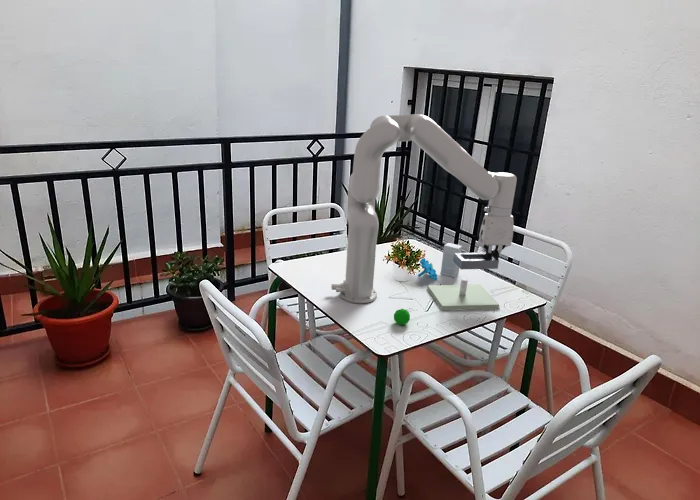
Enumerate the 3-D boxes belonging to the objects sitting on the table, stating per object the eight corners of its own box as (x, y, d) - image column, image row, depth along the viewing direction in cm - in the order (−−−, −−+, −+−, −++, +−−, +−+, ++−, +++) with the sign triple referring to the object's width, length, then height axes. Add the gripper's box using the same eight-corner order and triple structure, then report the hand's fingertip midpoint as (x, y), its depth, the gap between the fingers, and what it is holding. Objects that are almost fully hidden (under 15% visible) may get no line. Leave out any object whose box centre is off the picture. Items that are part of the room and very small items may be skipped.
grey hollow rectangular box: (460, 269, 163) (462, 261, 162) (453, 261, 170) (454, 252, 169) (497, 268, 165) (499, 260, 164) (488, 260, 172) (489, 252, 171)
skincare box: (458, 274, 192) (462, 245, 187) (454, 278, 188) (458, 248, 184) (444, 270, 195) (447, 242, 190) (440, 274, 191) (443, 245, 187)
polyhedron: (408, 320, 155) (409, 306, 153) (410, 327, 150) (411, 314, 149) (392, 319, 155) (393, 305, 153) (394, 327, 150) (395, 313, 148)
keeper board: (442, 310, 162) (444, 290, 160) (427, 289, 177) (429, 271, 175) (498, 308, 166) (501, 289, 163) (479, 288, 181) (482, 270, 178)
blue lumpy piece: (436, 281, 180) (420, 259, 181) (423, 289, 183) (407, 268, 183) (441, 274, 190) (426, 253, 191) (429, 282, 193) (414, 262, 193)
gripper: (481, 214, 157) (473, 267, 163) (527, 214, 159) (517, 266, 166) (472, 207, 164) (465, 258, 170) (516, 207, 166) (507, 258, 173)
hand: (491, 262), depth 168 cm, fingers closed on grey hollow rectangular box, 1 cm apart
